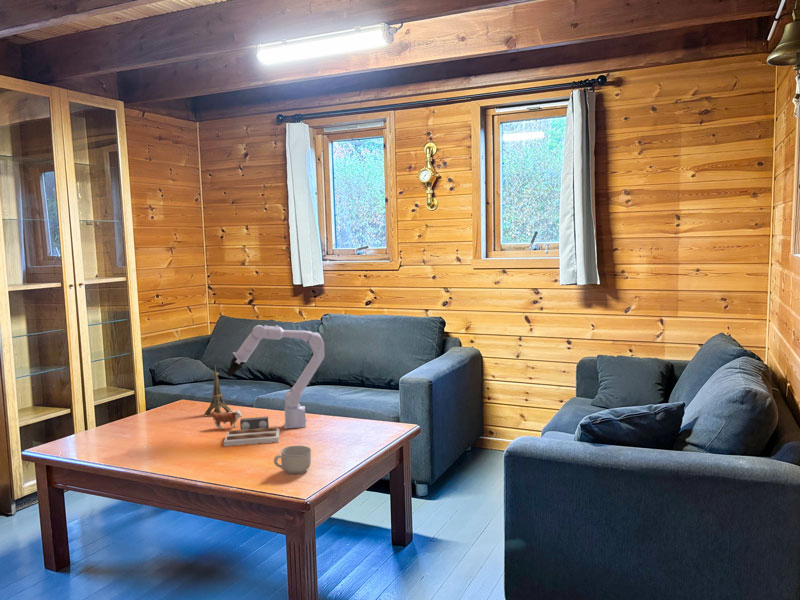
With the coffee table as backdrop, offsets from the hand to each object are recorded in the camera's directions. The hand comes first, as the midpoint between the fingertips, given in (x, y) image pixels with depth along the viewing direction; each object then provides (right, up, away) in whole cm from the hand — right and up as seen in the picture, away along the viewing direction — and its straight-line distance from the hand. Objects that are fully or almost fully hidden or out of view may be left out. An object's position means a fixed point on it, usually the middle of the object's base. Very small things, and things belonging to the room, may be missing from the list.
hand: (229, 374), depth 277 cm
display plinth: (+13, -26, -11) cm, 32 cm away
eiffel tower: (-15, -24, +34) cm, 44 cm away
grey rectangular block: (+11, -25, +2) cm, 28 cm away
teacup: (+37, -29, -53) cm, 71 cm away
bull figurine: (-2, -26, +7) cm, 27 cm away
